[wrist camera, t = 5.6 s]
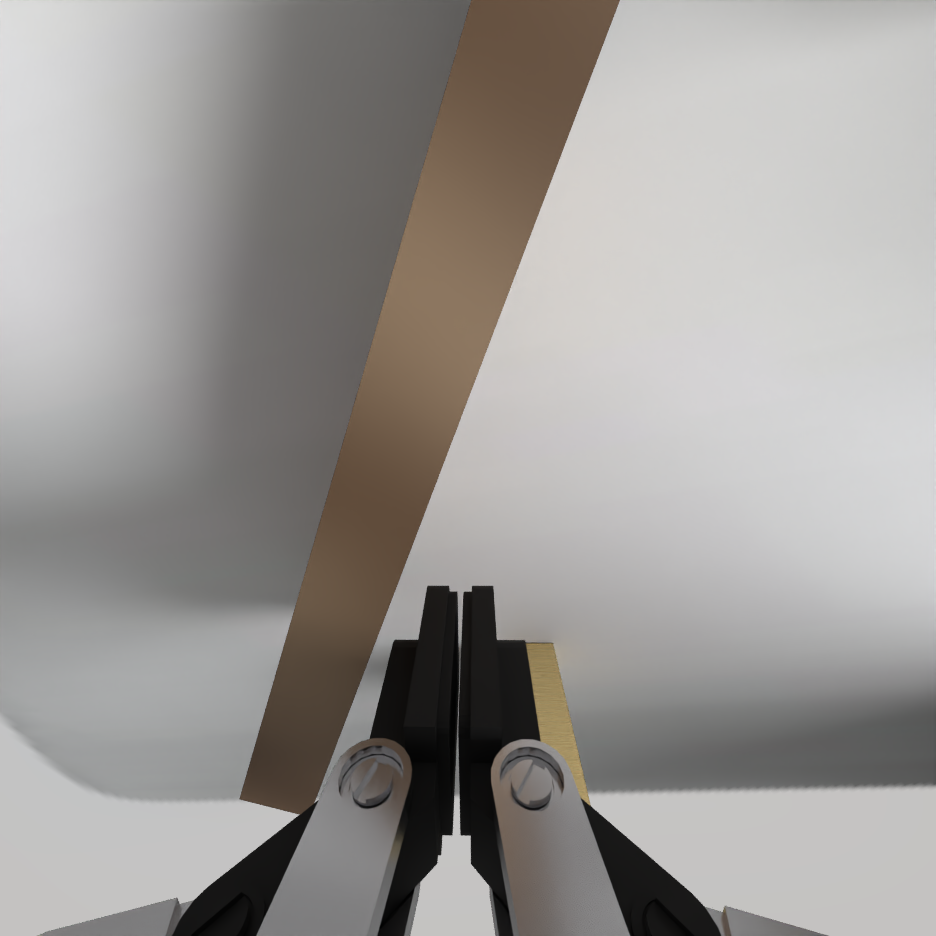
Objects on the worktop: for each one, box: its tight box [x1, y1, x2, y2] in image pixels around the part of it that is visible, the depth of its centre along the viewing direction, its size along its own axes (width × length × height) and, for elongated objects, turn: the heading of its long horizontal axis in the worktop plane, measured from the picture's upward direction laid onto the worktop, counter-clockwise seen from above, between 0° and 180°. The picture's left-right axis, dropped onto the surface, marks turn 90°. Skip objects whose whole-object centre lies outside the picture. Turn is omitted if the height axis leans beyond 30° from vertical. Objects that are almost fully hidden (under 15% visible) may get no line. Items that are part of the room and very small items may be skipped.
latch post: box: [526, 643, 591, 806], centre depth 14 cm, size 2×1×7 cm, turn 91°
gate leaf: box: [240, 0, 620, 814], centre depth 10 cm, size 19×2×7 cm, turn 159°
